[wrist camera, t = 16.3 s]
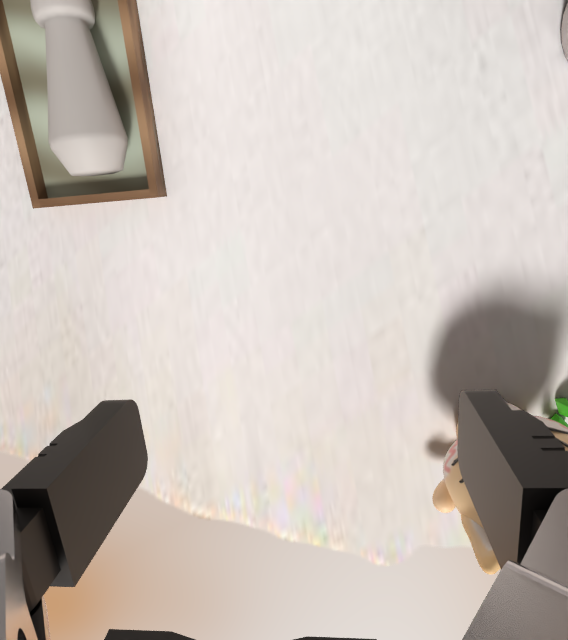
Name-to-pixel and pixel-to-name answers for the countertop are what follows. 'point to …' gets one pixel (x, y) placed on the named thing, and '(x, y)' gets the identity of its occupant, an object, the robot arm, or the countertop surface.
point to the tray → (127, 89)
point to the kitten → (457, 495)
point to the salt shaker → (79, 92)
